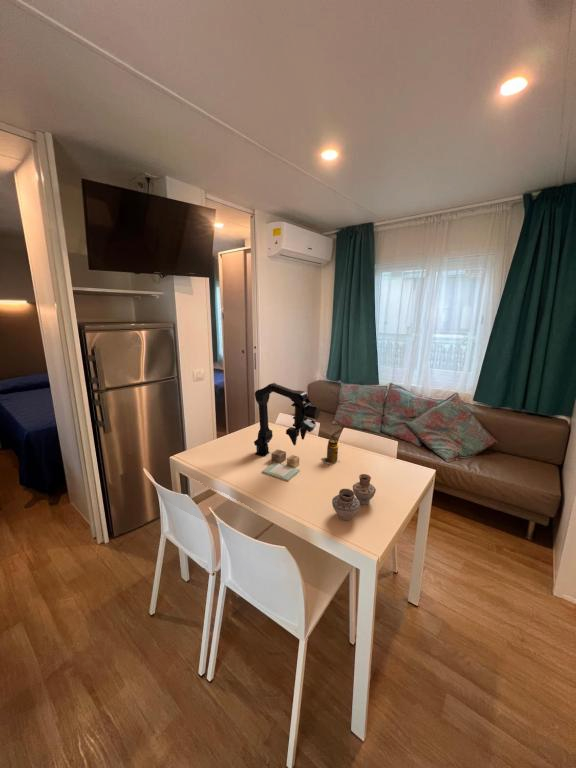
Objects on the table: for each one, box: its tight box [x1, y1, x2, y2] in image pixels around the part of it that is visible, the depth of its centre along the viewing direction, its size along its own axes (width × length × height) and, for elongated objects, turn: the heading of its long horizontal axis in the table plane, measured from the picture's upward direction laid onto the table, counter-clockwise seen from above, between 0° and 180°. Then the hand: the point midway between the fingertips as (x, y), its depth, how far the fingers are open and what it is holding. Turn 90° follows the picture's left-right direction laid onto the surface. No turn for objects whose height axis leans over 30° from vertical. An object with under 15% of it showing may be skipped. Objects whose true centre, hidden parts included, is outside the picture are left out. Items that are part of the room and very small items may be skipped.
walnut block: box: [270, 449, 287, 464], centre depth 170 cm, size 6×6×5 cm
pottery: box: [331, 473, 377, 521], centre depth 127 cm, size 11×25×12 cm, turn 137°
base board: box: [261, 462, 301, 482], centre depth 158 cm, size 16×12×1 cm
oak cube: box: [286, 454, 300, 469], centre depth 164 cm, size 5×5×5 cm
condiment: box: [321, 438, 341, 465], centre depth 170 cm, size 7×8×12 cm
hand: (298, 442), depth 163 cm, fingers open, 9 cm apart
